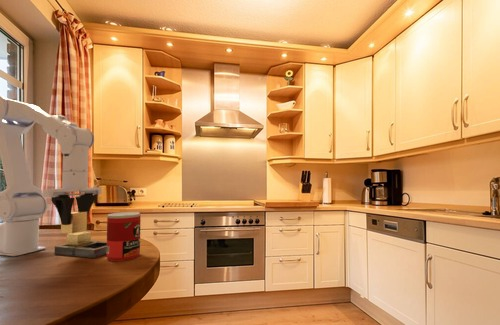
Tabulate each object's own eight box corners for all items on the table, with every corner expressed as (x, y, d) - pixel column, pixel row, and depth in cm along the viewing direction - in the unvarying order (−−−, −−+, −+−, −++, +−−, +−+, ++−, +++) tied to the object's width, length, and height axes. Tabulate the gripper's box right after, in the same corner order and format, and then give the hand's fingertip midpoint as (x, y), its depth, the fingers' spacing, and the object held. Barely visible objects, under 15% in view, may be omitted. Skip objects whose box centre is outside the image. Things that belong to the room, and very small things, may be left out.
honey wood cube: (60, 232, 67) (61, 213, 67) (75, 229, 71) (76, 211, 71) (72, 233, 65) (72, 213, 66) (86, 230, 69) (87, 211, 70)
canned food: (127, 262, 62) (128, 216, 63) (98, 260, 63) (99, 215, 64) (146, 253, 69) (146, 212, 70) (120, 252, 71) (120, 211, 72)
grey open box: (54, 254, 70) (55, 235, 70) (81, 246, 77) (82, 229, 78) (93, 258, 66) (94, 238, 66) (118, 249, 73) (119, 232, 73)
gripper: (58, 170, 61) (56, 228, 60) (109, 171, 75) (109, 219, 74) (38, 171, 63) (36, 227, 62) (91, 172, 77) (90, 218, 76)
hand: (74, 223), depth 68 cm, fingers closed on honey wood cube, 4 cm apart
